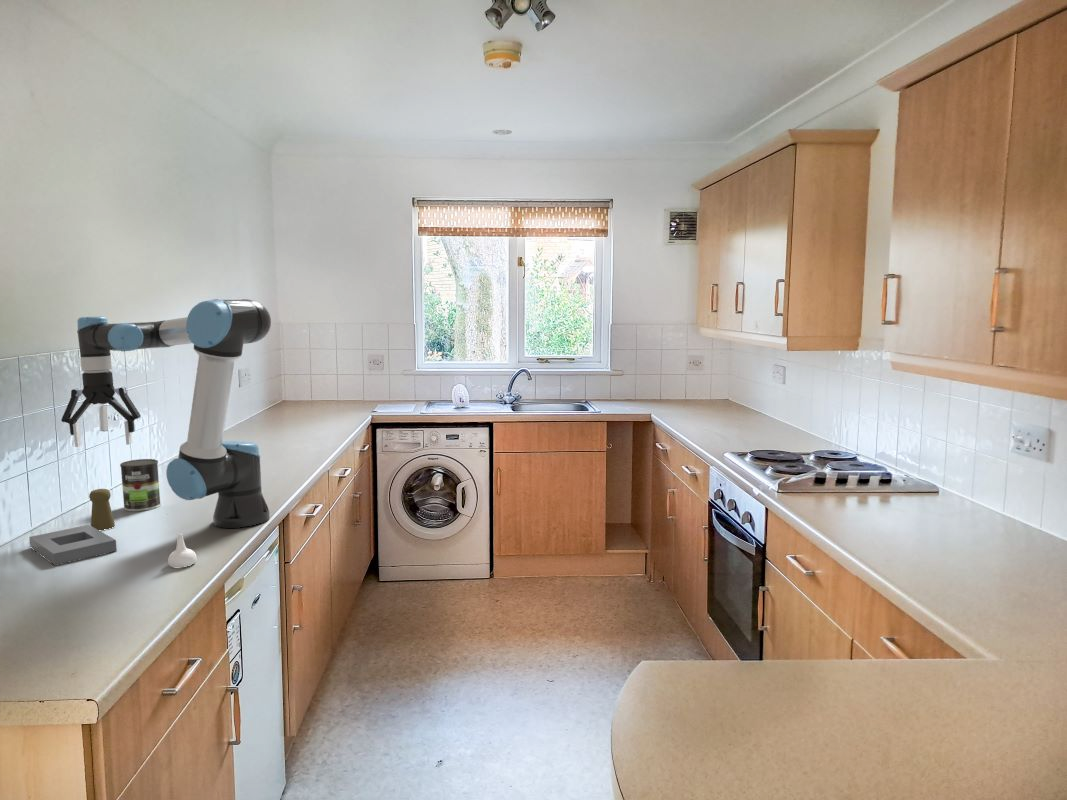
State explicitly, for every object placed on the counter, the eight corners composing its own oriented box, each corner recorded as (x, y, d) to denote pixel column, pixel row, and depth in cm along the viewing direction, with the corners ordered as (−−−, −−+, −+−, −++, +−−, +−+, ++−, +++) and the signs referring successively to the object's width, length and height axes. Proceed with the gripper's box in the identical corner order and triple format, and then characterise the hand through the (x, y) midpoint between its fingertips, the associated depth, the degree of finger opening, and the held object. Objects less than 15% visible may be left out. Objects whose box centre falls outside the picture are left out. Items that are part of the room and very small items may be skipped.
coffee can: (157, 510, 236) (154, 464, 234) (120, 512, 233) (116, 467, 231) (164, 501, 246) (160, 457, 244) (128, 504, 243) (124, 460, 241)
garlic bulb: (189, 560, 192) (185, 529, 191) (202, 563, 188) (198, 531, 187) (164, 568, 187) (160, 535, 186) (176, 571, 183) (172, 538, 182)
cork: (109, 523, 223) (106, 485, 221) (118, 527, 219) (115, 489, 217) (87, 528, 218) (83, 490, 216) (95, 532, 214) (92, 493, 213)
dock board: (116, 551, 198) (115, 539, 197) (54, 565, 188) (53, 553, 187) (89, 535, 211) (88, 524, 211) (30, 548, 201) (29, 536, 201)
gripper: (148, 368, 226) (154, 440, 229) (55, 371, 222) (62, 444, 225) (139, 370, 218) (146, 445, 221) (43, 374, 215) (51, 449, 217)
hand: (104, 445), depth 223 cm, fingers open, 13 cm apart
